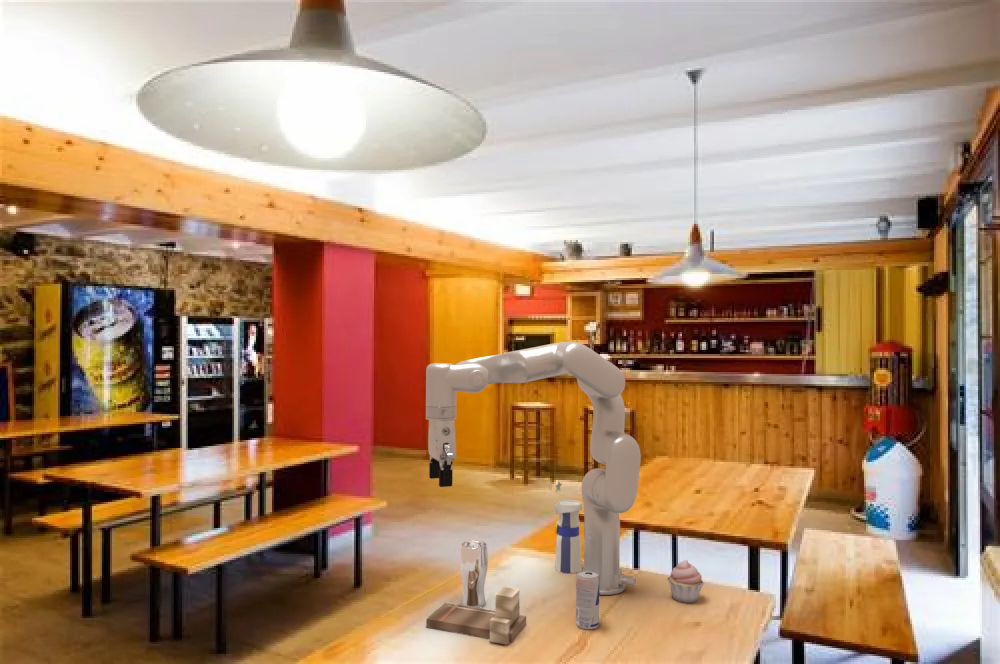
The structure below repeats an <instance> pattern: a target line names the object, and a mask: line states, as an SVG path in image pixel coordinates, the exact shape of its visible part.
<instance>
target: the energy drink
mask: <svg viewBox="0 0 1000 664" xmlns="http://www.w3.org/2000/svg"><path fill="white" fill-rule="evenodd" d="M575 579H576V583H575V589H576V590H575V591H576V592H575V593H576V596H575V598H576V599H575V603H576V604H575V608H576V610H575V624H576V626H577V627H578V628H580V629H582V630H589V631H590V630H596V629H597V628H598V627H599V626H600V595H599V574H598V573H597V572H595V571H590V570H584V569H582V570H581V571H579V572H578V573H576V577H575Z"/></svg>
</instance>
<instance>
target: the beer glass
mask: <svg viewBox="0 0 1000 664" xmlns="http://www.w3.org/2000/svg"><path fill="white" fill-rule="evenodd" d="M459 554H460V556H459V557H460V559H459V566H460V574H461V581H462V589H463V591H462V599H461V606H467V607H474V608H480V607H481V608H483V607H485V606H486V604H487V602H486V596H485V584H486V578H487V575H488V574H487V573H488V562H489V561H488V560H489V558H488V557H489V555H488V554H489V553H488V543H487V542H485V541H483V540H477V539H475V540H466V541H463V542H462V543H461V544H460V553H459ZM481 608H480V609H481Z"/></svg>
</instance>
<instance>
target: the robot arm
mask: <svg viewBox="0 0 1000 664" xmlns="http://www.w3.org/2000/svg"><path fill="white" fill-rule="evenodd" d="M425 370H426V371H425V378H426V379H425V420H428V439H427V441H428V442H427V443H428V444H427V446H428V454H429V469H428V470H429V472H428V473H429V475H428V476H429V479H431V480H432V479H433V480H435V479H438V486H439V487H440V488H448V487H453V461H455V460H456V459H457V440H456V439H457V438H456V426H455V425H456V424H455V420H456V419H457V392H461V393H462V392H463V393H470V394H477V393H480V392H482V391H483V390H485V389H486V388H487V387H488V385H492V384H493V385H495V384H501V383H503V384H504V383H505V384H506V383H507V384H508V383H511V384H520V383H521V384H522V383H529V382H532V381H533V382H534V381H537V380H541V379H546V378H547V379H548V378H551V377H558V376H562V375H571V376H573V377H575V379H576V381H577V386H578V387H579V388H580V390H581V391H582V392H584V393H585V394H586V395H587V397H588V399H589V400H590V402H591V405H592V409H593V411H592V412H593V415H592V416H593V418H592V428H591V436H590V437H591V439H590V447H589V449H590V451H589V452H590V455H591V457H592V459H593V460H595V461H596V462H597V463H599V464H602V465H603V466H605V468H599V467H598V468H597V467H596V468H593V469H590V470H589V471H588V472H587V473H585V475H584V477H583V479H582V481H581V498H582V506H583V517H584V518H583V520H584V521H583V522H584V523H583V524H584V525H583V526H584V528H583V570H590V571H595V572H597V573H598V574H599V596H600V595H601V596H609V595H617V594H620V593H622V592H623V591H624V590H625V589H626V585H627V586H633V587H635V586H636V583H637V580H636V578H635V577H634V576H633V575H629V574H628V575H627V574H624V573H623V569H622V568H620V558H621V557H620V555H621V554H620V547H621V546H620V545H621V544H620V542H621V539H620V537H621V535H620V534H621V533H620V532H621V519H620V514H624V513H626V512H628V511H630V510H631V508H632V507H633V506H634V504H635V502H636V501H637V495H638V489H639V478H640V470H641V460H642V459H641V457H642V456H641V448H640V445H639V444H638V442H637V440H636V439H635V438H634V437H633V436H631V435H630V434H627V433H625V426H626V425H625V423H626V422H625V421H626V417H625V416H626V407H625V403H624V399H623V396H622V394H623V391H625V387H626V378H625V375H624V373H623V371H622V370H620V368H618V366H616V365H615V364H614V363H612V362H611V361H609V360H607V359H606V358H605V357H603V356H602V355H600V354H599V353H597V352H596V351H594V350H593V349H592V348H590V347H588V346H587V345H586V344H583V343H581V342H578V341H577V342H576V341H560V342H555V343H554V342H553V343H550V344H544V345H539V346H535V347H529V348H523V349H519V350H512V351H508V352H504V353H498V354H494V355H493V354H492V355H488V356H482V357H477V358H471V359H466V360H461V361H459V362H457V363H456V364H453V363H447V362H445V363H443V362H434V363H430V364H428V365H427V366H426V369H425ZM633 577H634V578H633Z"/></svg>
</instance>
